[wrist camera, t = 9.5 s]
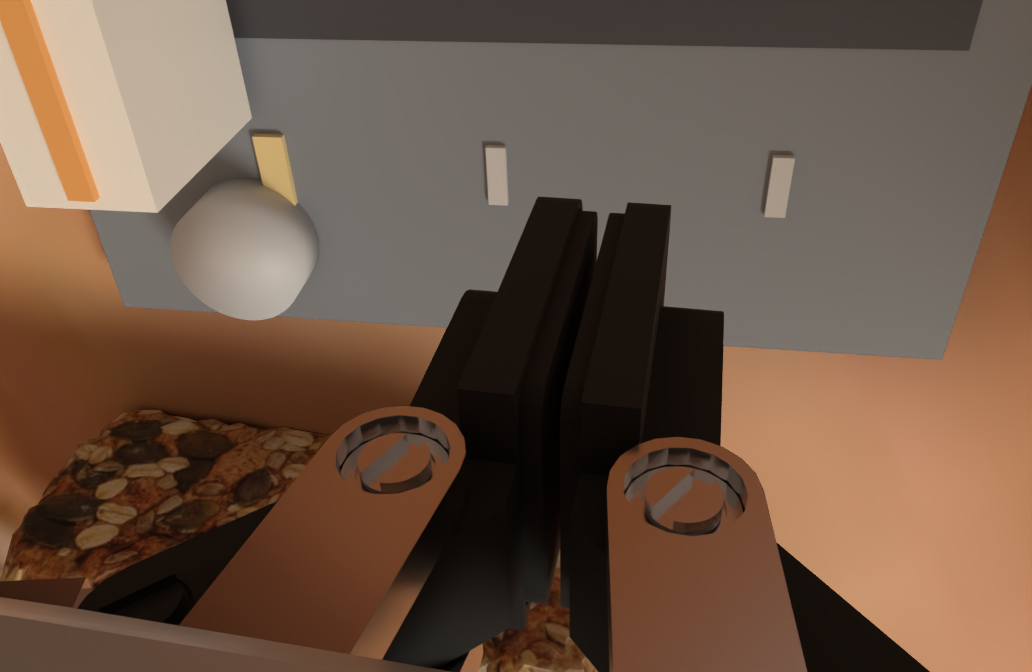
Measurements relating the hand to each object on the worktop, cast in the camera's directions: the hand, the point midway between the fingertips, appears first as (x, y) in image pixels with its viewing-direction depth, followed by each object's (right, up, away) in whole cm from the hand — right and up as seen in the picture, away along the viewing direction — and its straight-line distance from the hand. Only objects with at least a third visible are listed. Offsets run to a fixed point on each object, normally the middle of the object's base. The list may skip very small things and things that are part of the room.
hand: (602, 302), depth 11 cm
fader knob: (-9, +7, +9) cm, 15 cm away
